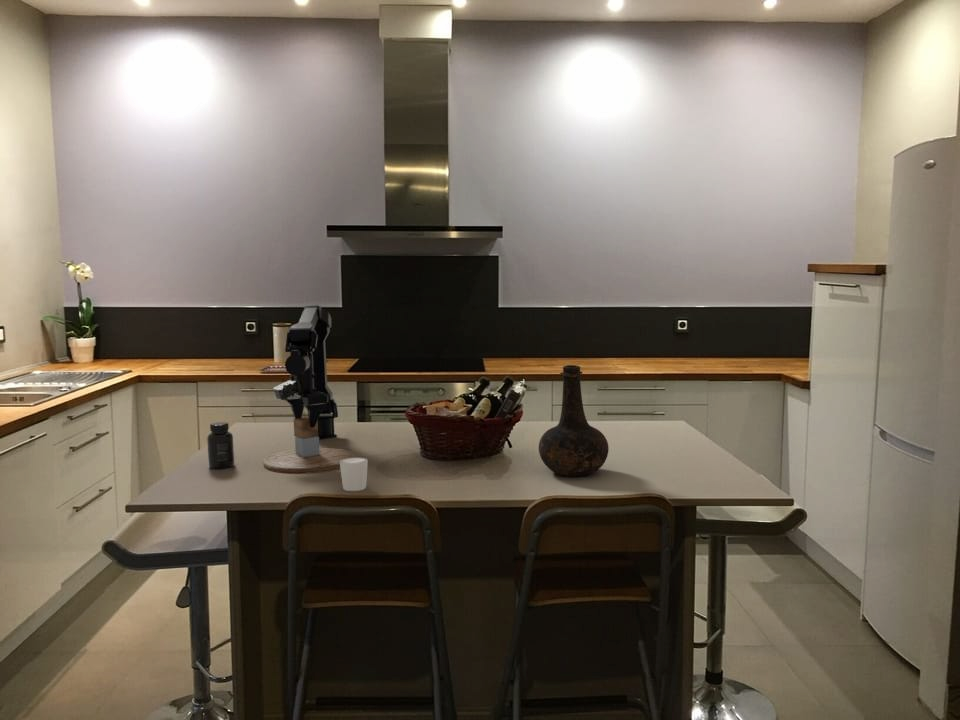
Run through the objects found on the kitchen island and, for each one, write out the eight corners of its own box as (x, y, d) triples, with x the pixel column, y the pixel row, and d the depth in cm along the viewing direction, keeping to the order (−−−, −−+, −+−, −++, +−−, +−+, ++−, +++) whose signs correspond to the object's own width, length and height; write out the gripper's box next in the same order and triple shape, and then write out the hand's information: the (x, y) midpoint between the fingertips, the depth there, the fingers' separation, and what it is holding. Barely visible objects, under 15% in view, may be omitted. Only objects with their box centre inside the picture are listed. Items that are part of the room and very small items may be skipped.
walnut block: (310, 433, 245) (309, 416, 244) (318, 436, 241) (317, 418, 240) (294, 435, 242) (293, 418, 241) (302, 438, 238) (301, 421, 237)
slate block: (311, 451, 244) (311, 434, 243) (319, 454, 240) (318, 437, 239) (295, 453, 241) (295, 436, 240) (303, 456, 237) (302, 439, 236)
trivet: (372, 462, 237) (372, 456, 236) (297, 480, 219) (297, 473, 218) (320, 450, 254) (319, 444, 254) (246, 465, 236) (245, 458, 236)
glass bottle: (616, 467, 224) (616, 362, 221) (596, 484, 208) (596, 371, 205) (552, 462, 231) (551, 360, 228) (529, 477, 215) (528, 368, 212)
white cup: (341, 484, 211) (340, 457, 210) (369, 483, 212) (368, 456, 211) (339, 492, 204) (338, 463, 203) (367, 491, 205) (367, 462, 204)
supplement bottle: (238, 463, 235) (236, 421, 234) (228, 469, 229) (226, 425, 227) (214, 463, 236) (212, 421, 235) (204, 469, 229) (202, 425, 228)
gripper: (262, 370, 242) (265, 424, 244) (290, 376, 227) (293, 433, 229) (298, 367, 249) (300, 419, 250) (328, 373, 234) (330, 428, 236)
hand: (305, 425), depth 241 cm, fingers open, 9 cm apart
